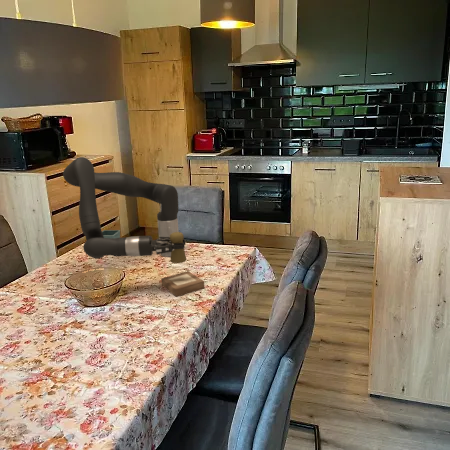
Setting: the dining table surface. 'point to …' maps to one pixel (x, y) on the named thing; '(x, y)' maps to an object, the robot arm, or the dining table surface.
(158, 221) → the robot arm
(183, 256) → the brown wooden pawn
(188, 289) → the dock board
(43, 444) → the dining table surface
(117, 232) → the flower pot
